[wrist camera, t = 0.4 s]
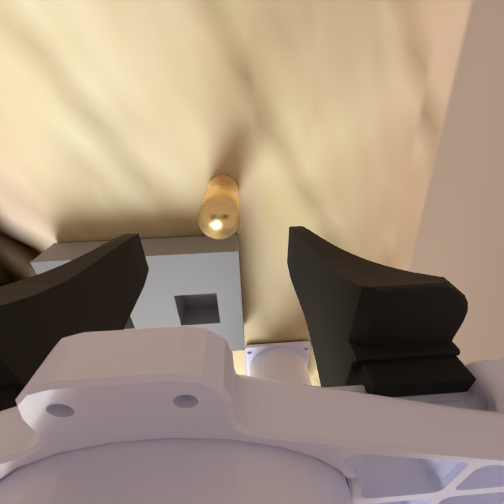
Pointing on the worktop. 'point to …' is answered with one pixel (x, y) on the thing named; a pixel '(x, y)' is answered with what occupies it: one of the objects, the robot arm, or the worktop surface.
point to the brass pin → (220, 208)
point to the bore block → (178, 283)
